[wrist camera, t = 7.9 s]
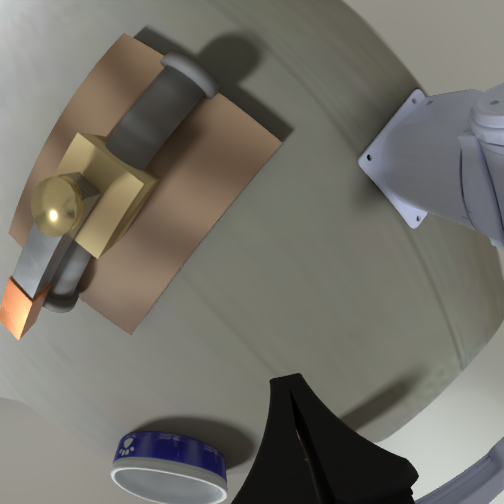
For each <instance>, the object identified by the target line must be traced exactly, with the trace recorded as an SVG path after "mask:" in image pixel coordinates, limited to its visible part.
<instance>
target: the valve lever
mask: <svg viewBox="0 0 504 504" xmlns="http://www.w3.org/2000/svg"><path fill="white" fill-rule="evenodd" d="M101 194H102V193H101V192H100V191H99V190H98V189H97V188H96V187H95V186H94V185H92V184H91V183H90V182H89V181H88V180H87V179H86V178H85V177H84V176H83V175H82V174H81V173H80V172H75V173H68V174H62V175H59V176H56V177H50V178H46V179H44V180H43V181H41V182H40V183H39V184H38V185H37V187H36V189H35V190H34V193H33V196H32V202H31V210H32V216H33V219H34V221H35V222H34V224H33V226H32V228H31V231H30V233H29V235H28V238H27V240H26V242H25V245H24V247H23V250H22V252H21V255H20V257H19V260H18V263H17V266H16V268H15V271H14V274H13V276H11V277H10V278H9V279H8V283H7V286H6V289H5V293H4V296H3V300H2V304H1V308H0V321H1V322H2V323H3V324H4V326H5V327H6V328H7V329H8V330H9V331H10V332H11V333H12V334H13V335H14V336H15V337H16V338H17V339H18V340H20V339H21V338H22V336H23V335H24V334H25V333H26V332H27V331H28V330H29V329H30V327H31V326H32V325H33V324H34V323H35V321H36V319H37V317H38V314H39V312H40V310H41V307H42V305H43V303H44V301H45V298H46V296H47V294H48V292H49V290H50V288H51V285H50V284H49V283H50V281H51V279H52V277H53V275H54V273H55V271H56V269H57V267H58V265H59V264H60V262H61V260H62V258H63V256H64V254H65V252H66V251H67V249H68V247H69V245H70V243H71V242H72V240H73V238H74V236H75V235H76V233H77V231H78V230H79V228H80V226H81V225H82V223H83V222H84V220H85V218H86V217H87V215H88V214H89V212H90V211H91V209H92V207H93V206H94V204H95V203H96V201H97V200H98V198H99V197H100V196H101Z"/></svg>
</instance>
